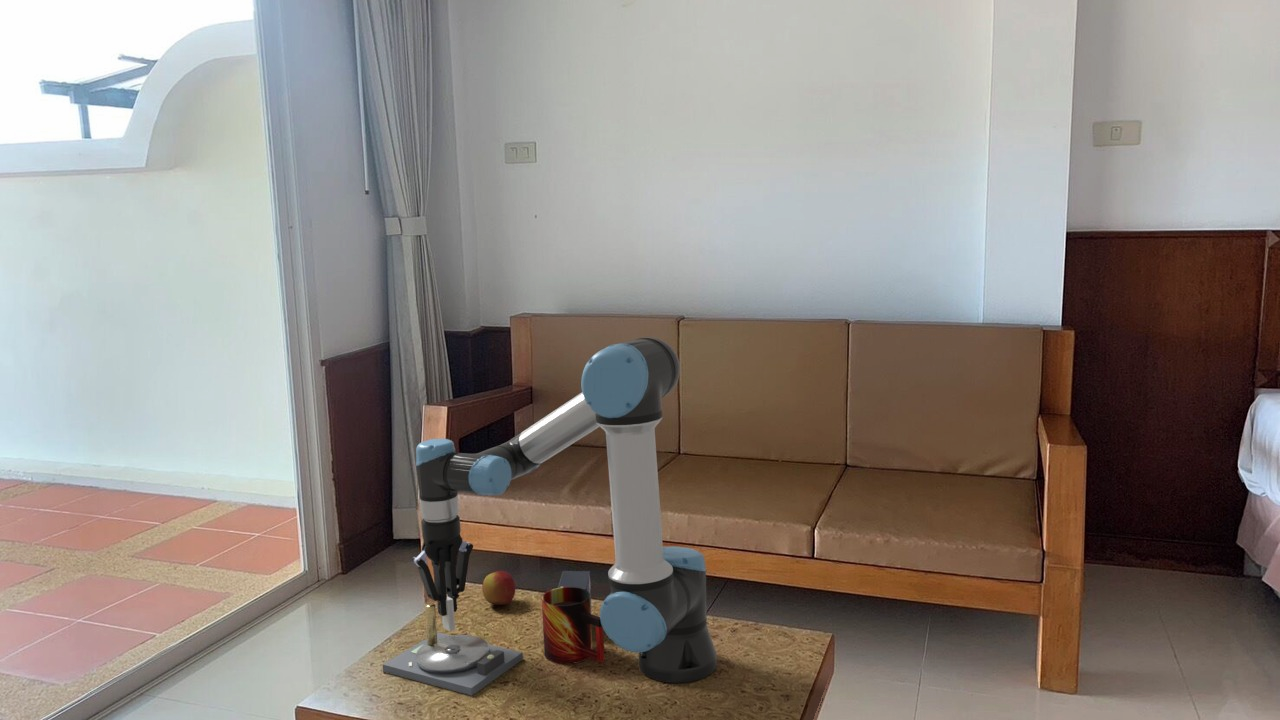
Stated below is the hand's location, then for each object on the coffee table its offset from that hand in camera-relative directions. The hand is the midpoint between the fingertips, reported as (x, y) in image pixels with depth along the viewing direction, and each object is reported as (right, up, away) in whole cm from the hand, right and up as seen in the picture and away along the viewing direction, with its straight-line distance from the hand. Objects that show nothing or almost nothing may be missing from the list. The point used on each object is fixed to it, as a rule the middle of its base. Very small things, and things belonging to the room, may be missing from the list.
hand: (449, 628), depth 188 cm
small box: (+25, -3, +11) cm, 28 cm away
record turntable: (+2, -6, -5) cm, 8 cm away
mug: (+26, -5, -2) cm, 27 cm away
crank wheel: (+2, -4, -6) cm, 7 cm away
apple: (+7, -2, +24) cm, 25 cm away
